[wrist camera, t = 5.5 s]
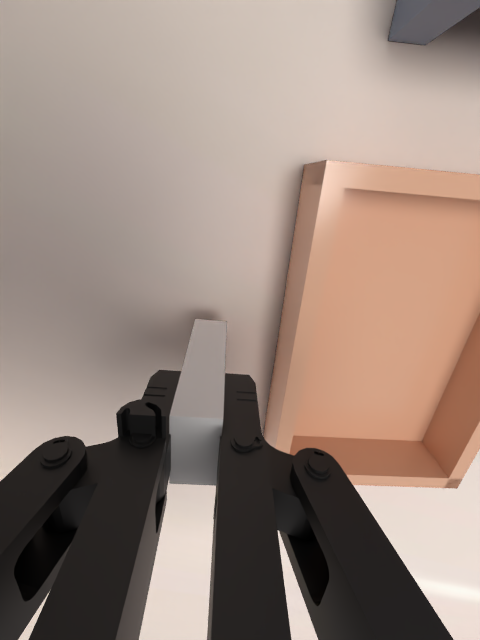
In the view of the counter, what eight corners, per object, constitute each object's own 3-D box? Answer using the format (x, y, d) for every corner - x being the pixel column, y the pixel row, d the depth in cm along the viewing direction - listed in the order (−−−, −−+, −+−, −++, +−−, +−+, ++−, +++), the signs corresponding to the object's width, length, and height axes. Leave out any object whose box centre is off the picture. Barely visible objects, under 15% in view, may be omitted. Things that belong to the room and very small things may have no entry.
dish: (263, 434, 20) (269, 482, 17) (304, 164, 13) (327, 159, 10) (422, 441, 21) (457, 488, 18) (537, 186, 14) (626, 188, 11)
